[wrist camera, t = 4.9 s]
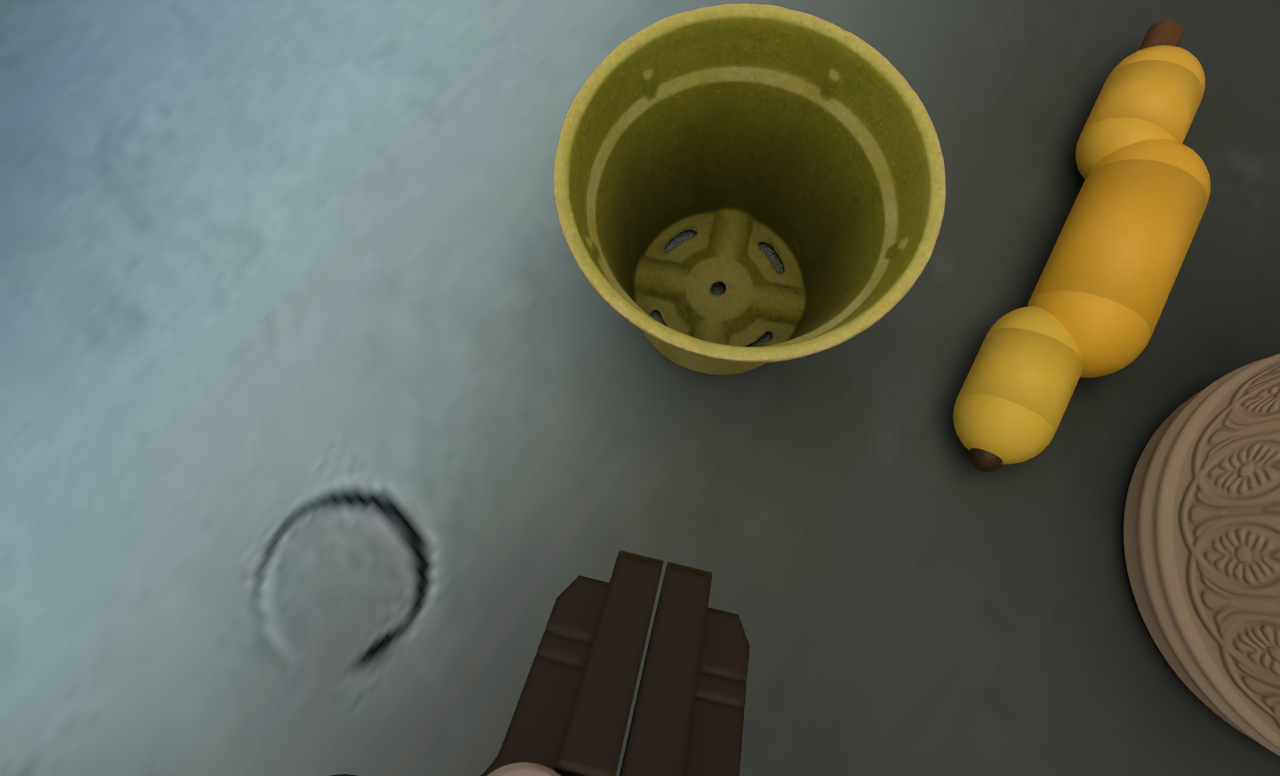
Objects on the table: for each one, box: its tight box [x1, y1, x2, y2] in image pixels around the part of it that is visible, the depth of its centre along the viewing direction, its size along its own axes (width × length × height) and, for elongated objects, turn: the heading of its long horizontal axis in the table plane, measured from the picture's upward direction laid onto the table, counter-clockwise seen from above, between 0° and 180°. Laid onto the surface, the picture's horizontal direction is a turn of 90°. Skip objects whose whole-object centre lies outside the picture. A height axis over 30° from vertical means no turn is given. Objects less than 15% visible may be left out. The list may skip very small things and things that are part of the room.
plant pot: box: [553, 4, 946, 375], centre depth 22 cm, size 9×9×9 cm
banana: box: [953, 21, 1210, 472], centre depth 24 cm, size 17×4×4 cm, turn 152°
